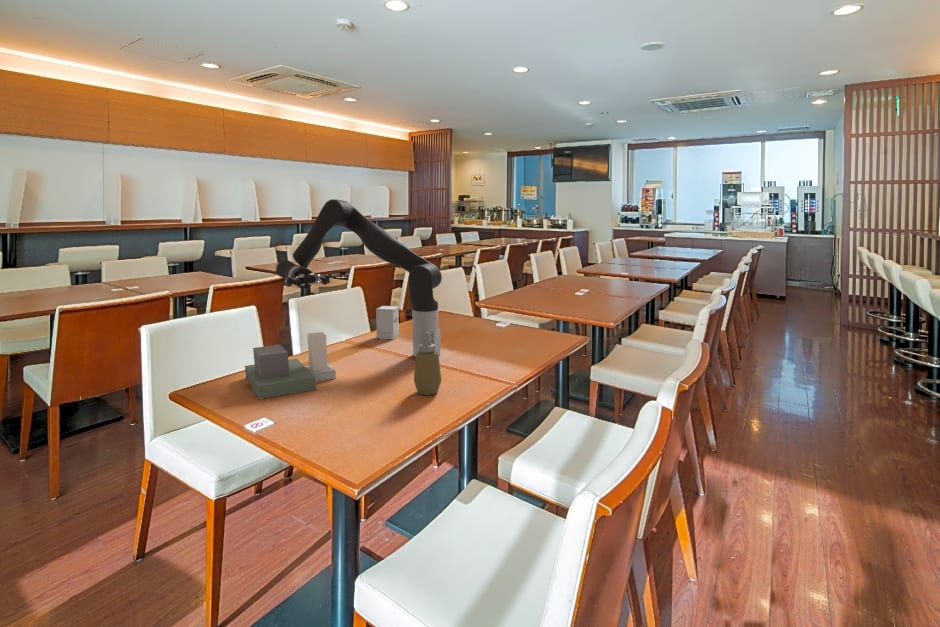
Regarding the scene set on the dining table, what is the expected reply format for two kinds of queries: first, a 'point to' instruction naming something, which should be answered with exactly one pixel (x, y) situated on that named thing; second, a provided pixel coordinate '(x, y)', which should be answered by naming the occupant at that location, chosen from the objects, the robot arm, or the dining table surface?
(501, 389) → the dining table surface
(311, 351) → the tall white pillar block
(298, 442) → the dining table surface
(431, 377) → the squeeze bottle
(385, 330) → the supplement box
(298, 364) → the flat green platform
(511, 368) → the dining table surface
